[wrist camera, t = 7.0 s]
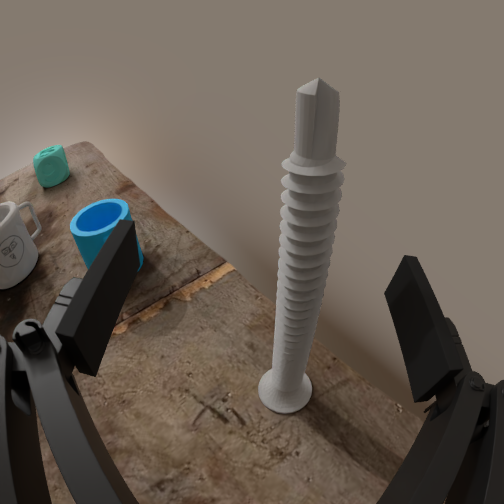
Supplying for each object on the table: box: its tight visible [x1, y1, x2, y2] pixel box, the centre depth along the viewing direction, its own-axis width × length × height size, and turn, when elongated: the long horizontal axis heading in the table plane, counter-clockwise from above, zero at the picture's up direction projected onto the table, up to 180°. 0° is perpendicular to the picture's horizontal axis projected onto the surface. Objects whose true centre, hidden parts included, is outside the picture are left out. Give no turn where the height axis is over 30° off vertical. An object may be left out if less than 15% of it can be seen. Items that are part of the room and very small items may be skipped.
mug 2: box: [70, 199, 143, 272], centre depth 36 cm, size 12×8×8 cm
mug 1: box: [0, 202, 41, 289], centre depth 38 cm, size 14×11×10 cm
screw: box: [258, 78, 346, 414], centre depth 18 cm, size 5×26×5 cm
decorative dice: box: [33, 145, 70, 188], centre depth 62 cm, size 8×8×8 cm
